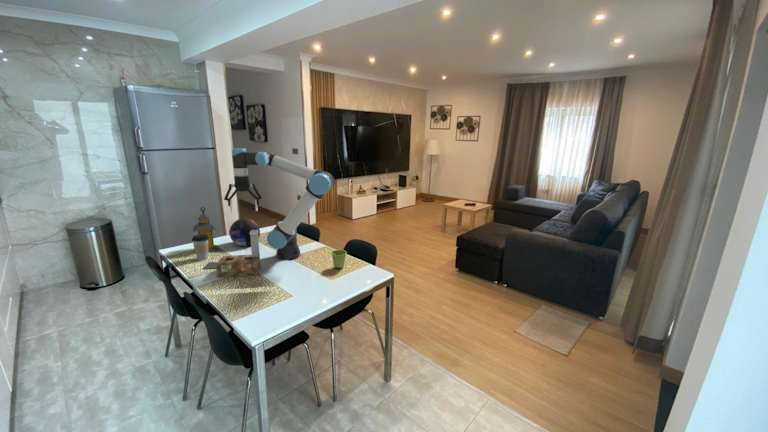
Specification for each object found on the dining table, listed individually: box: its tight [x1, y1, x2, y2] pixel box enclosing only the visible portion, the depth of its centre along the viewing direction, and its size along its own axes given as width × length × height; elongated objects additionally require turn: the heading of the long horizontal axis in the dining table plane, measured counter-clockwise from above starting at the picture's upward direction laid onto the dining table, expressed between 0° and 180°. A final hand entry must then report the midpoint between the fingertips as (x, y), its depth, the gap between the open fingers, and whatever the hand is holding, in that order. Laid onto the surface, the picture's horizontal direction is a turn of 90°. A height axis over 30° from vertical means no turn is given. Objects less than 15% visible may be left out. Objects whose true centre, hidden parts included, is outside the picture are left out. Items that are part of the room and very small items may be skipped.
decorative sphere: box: [228, 217, 261, 247], centre depth 216 cm, size 19×20×20 cm
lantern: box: [192, 206, 220, 255], centre depth 204 cm, size 14×14×30 cm
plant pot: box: [330, 249, 348, 268], centre depth 184 cm, size 9×9×9 cm
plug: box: [250, 230, 261, 259], centre depth 171 cm, size 4×4×16 cm
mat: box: [202, 261, 218, 270], centre depth 181 cm, size 10×10×1 cm
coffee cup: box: [191, 234, 209, 262], centre depth 190 cm, size 9×9×15 cm
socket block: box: [215, 254, 262, 278], centre depth 172 cm, size 20×12×8 cm, turn 101°
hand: (244, 211), depth 181 cm, fingers open, 13 cm apart
